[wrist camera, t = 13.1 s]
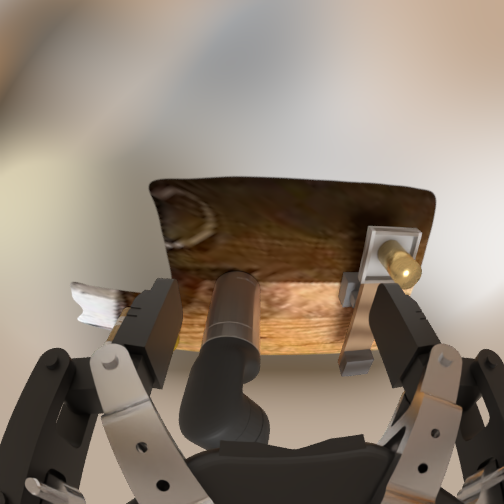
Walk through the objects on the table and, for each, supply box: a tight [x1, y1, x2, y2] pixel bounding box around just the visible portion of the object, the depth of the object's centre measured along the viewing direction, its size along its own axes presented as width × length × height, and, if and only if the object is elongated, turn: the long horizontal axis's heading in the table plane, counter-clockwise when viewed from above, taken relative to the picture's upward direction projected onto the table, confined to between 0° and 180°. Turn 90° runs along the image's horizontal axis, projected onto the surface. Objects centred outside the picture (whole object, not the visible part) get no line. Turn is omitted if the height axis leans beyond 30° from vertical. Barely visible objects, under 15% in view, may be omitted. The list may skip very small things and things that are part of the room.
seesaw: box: [338, 226, 422, 376], centre depth 45 cm, size 33×9×4 cm, turn 0°
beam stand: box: [339, 272, 361, 308], centre depth 51 cm, size 6×8×6 cm
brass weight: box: [377, 240, 422, 289], centre depth 36 cm, size 4×4×7 cm
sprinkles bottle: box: [103, 307, 130, 346], centre depth 53 cm, size 5×5×13 cm
